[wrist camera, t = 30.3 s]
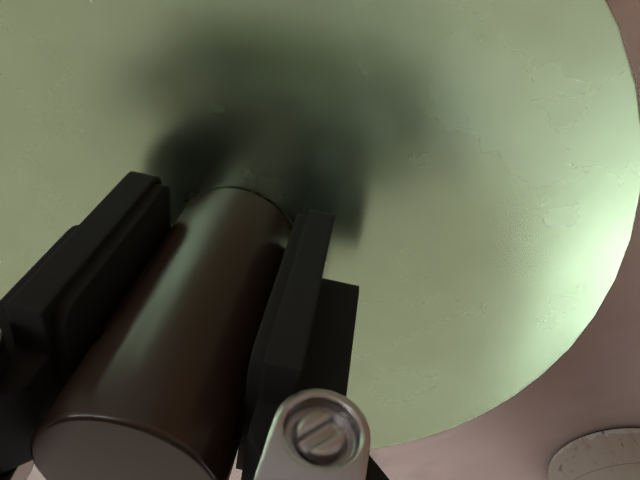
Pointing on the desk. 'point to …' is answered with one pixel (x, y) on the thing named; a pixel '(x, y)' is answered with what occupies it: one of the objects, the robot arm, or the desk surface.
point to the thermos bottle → (599, 457)
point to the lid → (318, 200)
